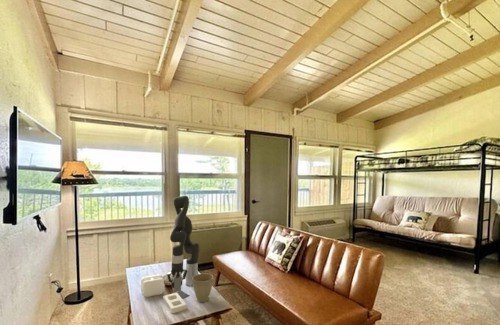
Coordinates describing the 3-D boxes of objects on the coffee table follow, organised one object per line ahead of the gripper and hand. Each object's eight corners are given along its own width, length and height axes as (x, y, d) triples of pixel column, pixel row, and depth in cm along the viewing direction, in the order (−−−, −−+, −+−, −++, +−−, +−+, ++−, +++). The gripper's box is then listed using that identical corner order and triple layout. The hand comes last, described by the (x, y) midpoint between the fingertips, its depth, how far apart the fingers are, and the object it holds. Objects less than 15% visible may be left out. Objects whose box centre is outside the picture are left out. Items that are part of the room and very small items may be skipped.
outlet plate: (176, 296, 186) (177, 292, 187) (186, 309, 170) (186, 304, 170) (163, 300, 181) (163, 296, 181) (171, 313, 164) (171, 308, 164)
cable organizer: (141, 298, 183) (142, 282, 183) (140, 292, 192) (141, 276, 193) (163, 294, 190) (164, 278, 190) (161, 288, 199) (161, 273, 200)
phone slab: (180, 291, 195) (181, 290, 195) (189, 296, 188) (189, 295, 188) (174, 294, 191) (174, 293, 191) (182, 299, 184) (182, 298, 184)
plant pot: (212, 294, 191) (213, 272, 192) (213, 304, 177) (213, 281, 177) (192, 295, 189) (192, 273, 189) (191, 305, 174) (191, 282, 175)
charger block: (178, 288, 175) (179, 274, 176) (180, 290, 171) (181, 276, 172) (172, 289, 173) (172, 275, 173) (174, 292, 169) (174, 278, 169)
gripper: (185, 257, 180) (185, 282, 179) (165, 261, 172) (164, 287, 171) (189, 261, 174) (188, 286, 173) (168, 264, 166) (167, 291, 165)
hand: (176, 286), depth 172 cm, fingers closed on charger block, 4 cm apart
